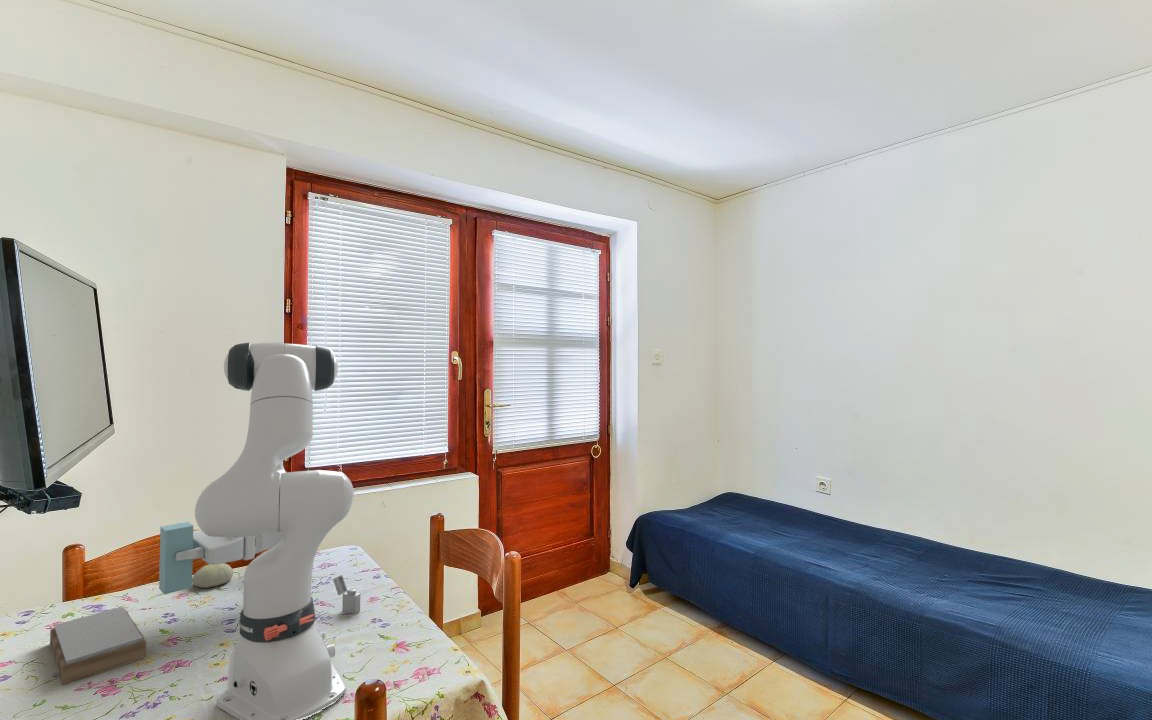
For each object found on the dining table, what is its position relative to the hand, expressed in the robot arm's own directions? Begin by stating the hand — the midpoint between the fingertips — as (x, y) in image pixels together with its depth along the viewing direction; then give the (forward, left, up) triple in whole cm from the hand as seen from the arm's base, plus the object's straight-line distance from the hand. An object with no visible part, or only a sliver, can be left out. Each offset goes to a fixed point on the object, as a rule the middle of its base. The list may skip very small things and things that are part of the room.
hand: (171, 553), depth 115 cm
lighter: (-22, -30, -17) cm, 41 cm away
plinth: (0, +12, -17) cm, 21 cm away
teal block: (0, -1, -8) cm, 8 cm away
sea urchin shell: (+22, -14, -17) cm, 31 cm away
